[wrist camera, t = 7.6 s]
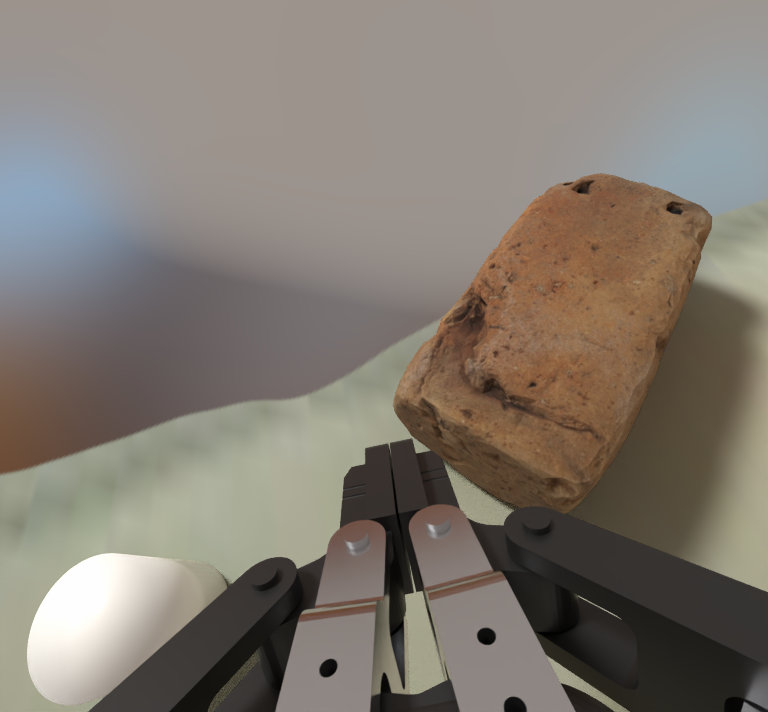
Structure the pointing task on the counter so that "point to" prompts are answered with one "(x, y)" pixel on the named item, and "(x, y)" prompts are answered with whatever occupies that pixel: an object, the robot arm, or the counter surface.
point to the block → (556, 340)
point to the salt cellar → (112, 621)
